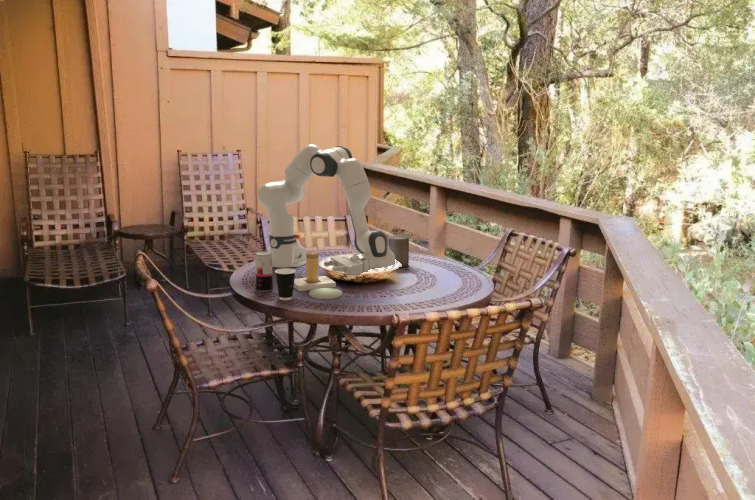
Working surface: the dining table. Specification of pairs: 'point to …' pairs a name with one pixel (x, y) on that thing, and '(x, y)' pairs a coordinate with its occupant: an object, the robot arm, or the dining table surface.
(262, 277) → the beverage can
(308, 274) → the plug
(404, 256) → the pillar candle
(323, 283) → the socket block
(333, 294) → the mat
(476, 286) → the dining table surface
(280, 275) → the dixie cup
